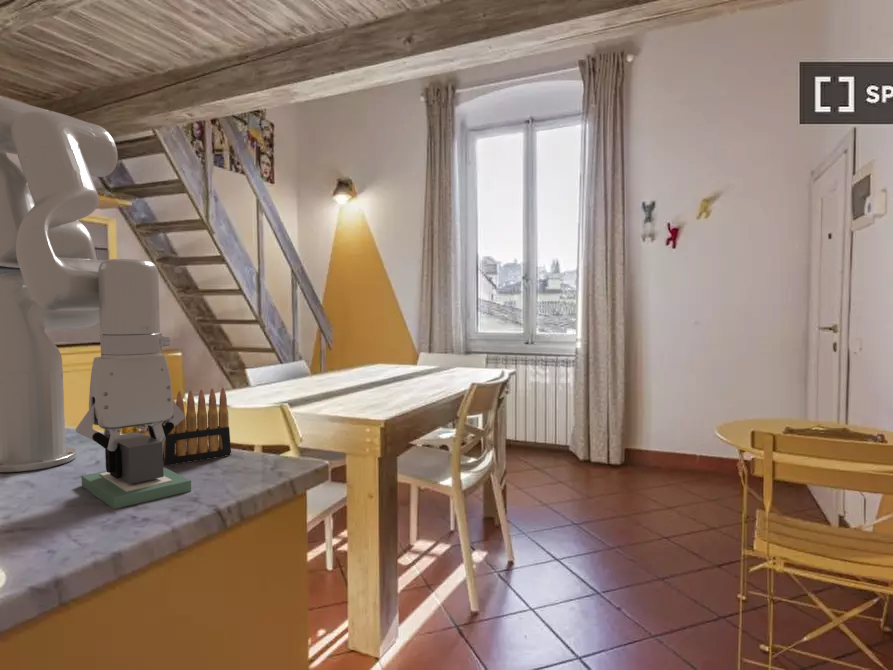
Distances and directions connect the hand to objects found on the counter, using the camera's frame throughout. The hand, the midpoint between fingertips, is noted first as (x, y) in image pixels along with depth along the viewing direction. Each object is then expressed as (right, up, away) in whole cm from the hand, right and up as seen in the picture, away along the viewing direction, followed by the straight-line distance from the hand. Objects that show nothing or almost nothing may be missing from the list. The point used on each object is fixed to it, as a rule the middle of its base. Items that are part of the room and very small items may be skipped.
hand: (135, 471), depth 84 cm
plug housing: (0, 0, 0) cm, 0 cm away
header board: (0, -3, 0) cm, 3 cm away
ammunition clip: (+2, -2, +16) cm, 16 cm away
